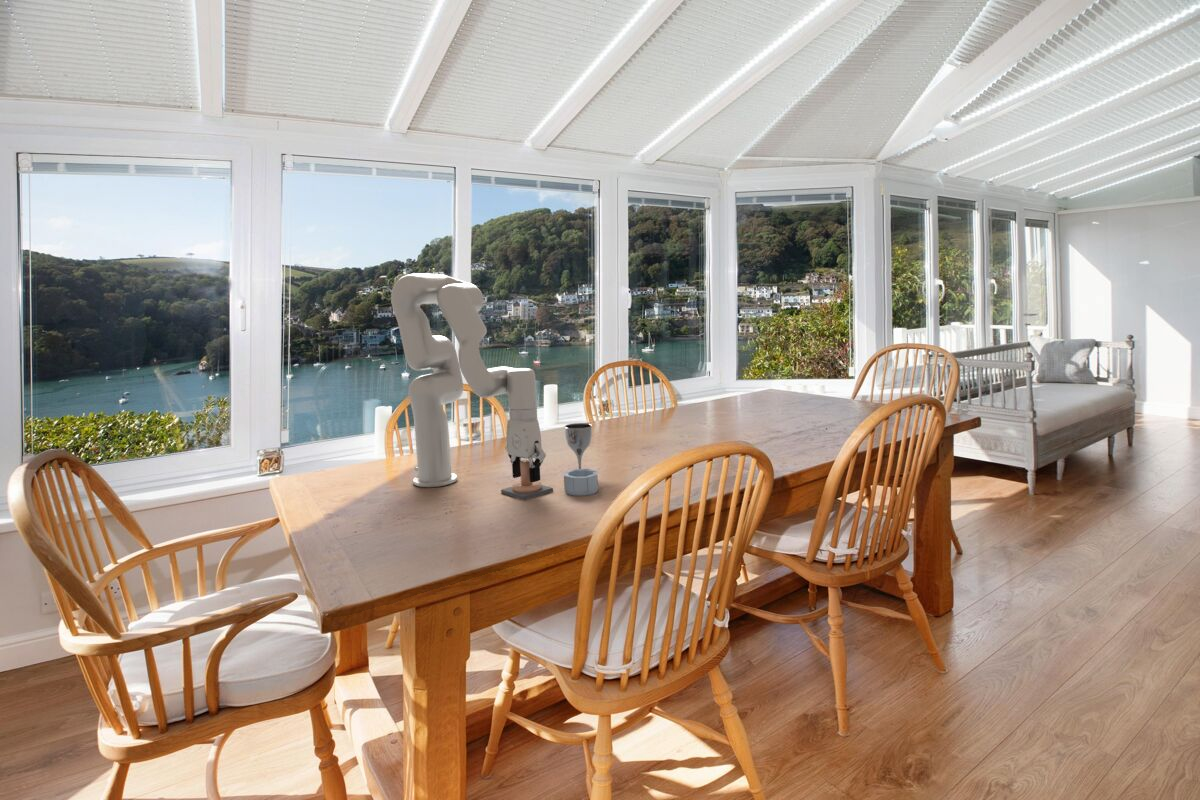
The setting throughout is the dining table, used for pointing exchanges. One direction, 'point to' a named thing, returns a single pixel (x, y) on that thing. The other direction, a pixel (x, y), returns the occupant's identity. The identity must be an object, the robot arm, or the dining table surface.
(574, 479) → the bowl
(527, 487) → the lid
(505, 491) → the mat
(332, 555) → the dining table surface
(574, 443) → the wine glass
